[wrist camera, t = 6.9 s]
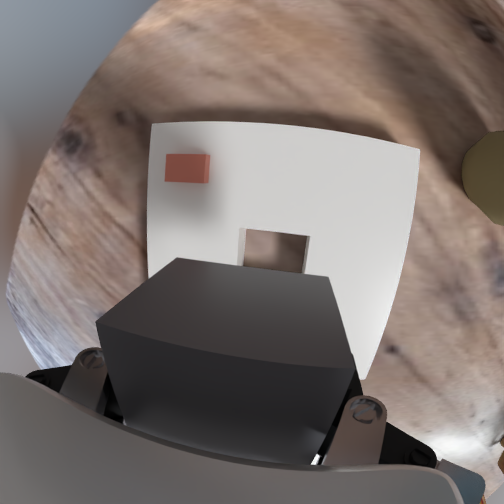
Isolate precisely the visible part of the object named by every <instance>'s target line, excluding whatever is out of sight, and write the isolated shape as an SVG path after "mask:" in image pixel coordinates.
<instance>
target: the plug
mask: <svg viewBox="0 0 504 504" xmlns="http://www.w3.org/2000/svg"><path fill="white" fill-rule="evenodd" d="M96 327H97V332H98V336H99V340H100V344H101V348H102V352H103V356H104V360H105V363H106V367H107V370H108V374H109V377H110V380H111V383H112V387H113V390H114V393H115V396H116V399H117V401H118V404H119V407H120V410H121V412H122V415H123V418H124V420H125V423H126V425H127V426H129V427H131V428H134V429H136V430H139V431H142V432H144V433H147V434H150V435H153V436H156V437H159V438H162V439H165V440H168V441H172V442H175V443H178V444H182V445H185V446H189V447H193V448H197V449H201V450H205V451H209V452H214V453H218V454H223V455H228V456H234V457H239V458H245V459H252V460H259V461H267V462H276V463H287V464H302V465H311V463H312V461H313V459H314V457H315V456H316V454H317V452H318V450H319V448H320V446H321V444H322V443H323V441H324V439H325V437H326V435H327V433H328V431H329V429H330V427H331V425H332V423H333V420H334V418H335V416H336V414H337V412H338V410H339V407H340V405H341V403H342V401H343V398H344V396H345V394H346V391H347V389H348V386H349V384H350V382H351V379H352V377H353V374H354V371H355V365H354V361H353V357H352V354H351V350H350V346H349V343H348V339H347V335H346V332H345V328H344V325H343V322H342V318H341V315H340V311H339V308H338V305H337V302H336V298H335V295H334V292H333V289H332V286H331V283H330V280H329V277H327V276H319V275H310V274H302V273H293V272H285V271H277V270H269V269H261V268H253V267H245V266H238V265H230V264H222V263H215V262H207V261H200V260H193V259H185V258H178V257H176V258H175V259H174V260H173V261H171V262H170V263H169V264H167V265H166V266H165V267H163V268H162V269H161V270H159V271H158V272H157V273H156V274H154V275H153V276H152V277H150V278H149V279H148V280H147V281H145V282H144V283H143V284H141V285H140V286H139V287H138V288H136V289H135V290H134V291H133V292H131V293H130V294H129V295H128V296H126V297H125V298H124V299H123V300H121V301H120V302H119V303H118V304H116V305H115V306H114V307H113V308H111V309H110V310H109V311H108V312H107V313H105V314H104V315H103V316H102V317H100V318H99V319H98V320H97V321H96Z"/></svg>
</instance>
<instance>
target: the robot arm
mask: <svg viewBox="0 0 504 504" xmlns="http://www.w3.org/2000/svg"><path fill="white" fill-rule="evenodd" d="M351 354H352V353H351ZM352 357H353V361H354V365H355V371H354V374H353V377H352V379H351V382H350V384H349V386H348V389H347V391H346V394H345V396H344V398H343V401H342V403H341V405H340V407H339V410H338V412H337V414H336V416H335V418H334V420H333V423H332V425H331V427H330V429H329V431H328V433H327V435H326V437H325V439H324V441H323V443H322V444H321V446H320V448H319V450H318V452H317V454H318V455H320V456H319V458H318V460H317V463H316V465H302V464H287V463H276V462H267V461H259V460H252V459H245V458H239V457H234V456H228V455H223V454H218V453H214V452H209V451H205V450H201V449H197V448H193V447H189V446H185V445H182V444H178V443H175V442H172V441H168V440H165V439H162V438H159V437H156V436H153V435H150V434H147V433H144V432H142V431H139V430H136V429H134V428H131V427H129V426H127V425H126V423H125V420H124V418H123V415H122V412H121V410H120V407H119V404H118V401H117V399H116V396H115V393H114V390H113V387H112V383H111V380H110V377H109V374H108V370H107V367H106V363H105V360H104V356H103V352H102V348H98V347H92V348H87V349H85V350H83V351H81V352H80V353H79V354H78V355H77V356H76V358H75V360H74V362H73V364H72V365H69V366H63V367H57V368H50V369H43V370H37V371H33V372H31V373H29V374H28V375H27V376H26V377H23V376H20V375H15V374H11V373H0V504H480V502H481V499H482V497H483V494H484V491H485V486H486V485H485V480H484V479H483V477H482V476H481V475H479V474H477V473H475V472H472V471H470V470H467V469H465V468H463V467H460V466H458V465H456V464H453V463H451V462H449V461H447V460H444V459H442V460H441V461H438V460H437V457H436V454H435V452H434V451H433V450H432V449H431V448H430V447H429V446H427V445H426V444H424V443H422V442H420V441H419V440H417V439H415V438H413V437H412V436H410V435H408V434H406V433H405V432H403V431H401V430H400V429H398V428H396V427H395V426H393V425H391V424H390V423H388V422H386V420H387V410H386V407H385V405H384V404H383V403H382V402H381V401H379V400H378V399H376V398H374V397H371V396H365V395H363V391H362V387H361V383H360V379H359V375H358V371H357V368H356V364H355V360H354V356H353V354H352Z"/></svg>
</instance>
